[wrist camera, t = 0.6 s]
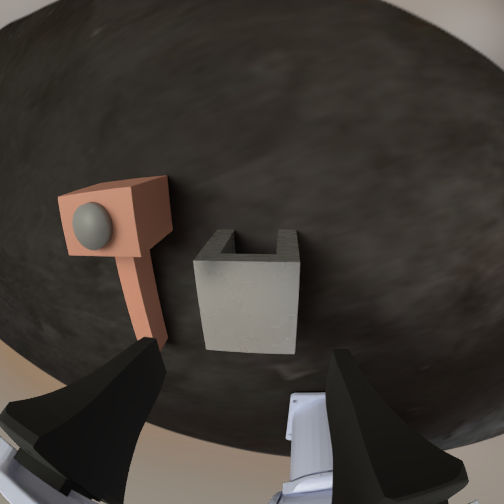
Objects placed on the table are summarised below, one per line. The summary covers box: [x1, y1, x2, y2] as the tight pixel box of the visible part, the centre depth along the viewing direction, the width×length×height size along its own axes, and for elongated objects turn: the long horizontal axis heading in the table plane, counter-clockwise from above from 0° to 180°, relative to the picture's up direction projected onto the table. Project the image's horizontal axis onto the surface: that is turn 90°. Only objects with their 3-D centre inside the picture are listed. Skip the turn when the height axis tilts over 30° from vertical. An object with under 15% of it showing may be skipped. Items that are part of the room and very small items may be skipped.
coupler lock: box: [193, 230, 300, 354], centre depth 17 cm, size 6×5×5 cm
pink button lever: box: [58, 175, 173, 351], centre depth 18 cm, size 14×6×6 cm, turn 2°
